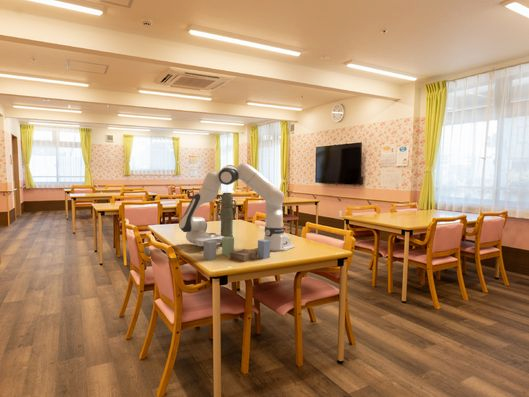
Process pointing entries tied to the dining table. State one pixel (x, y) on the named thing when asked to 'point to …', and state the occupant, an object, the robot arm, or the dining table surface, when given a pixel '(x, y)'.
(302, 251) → the dining table surface
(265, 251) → the blue block
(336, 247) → the dining table surface
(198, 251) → the dining table surface
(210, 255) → the grey block
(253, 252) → the walnut brick
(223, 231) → the thermos
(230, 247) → the green block
